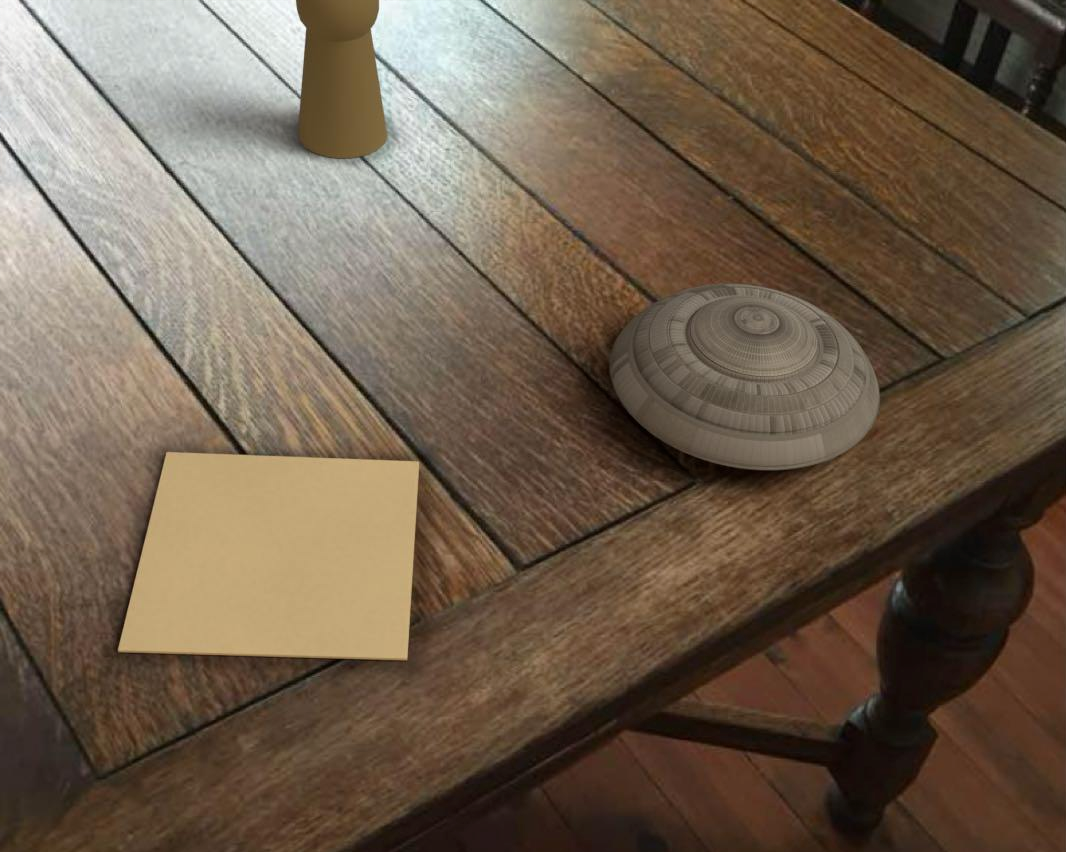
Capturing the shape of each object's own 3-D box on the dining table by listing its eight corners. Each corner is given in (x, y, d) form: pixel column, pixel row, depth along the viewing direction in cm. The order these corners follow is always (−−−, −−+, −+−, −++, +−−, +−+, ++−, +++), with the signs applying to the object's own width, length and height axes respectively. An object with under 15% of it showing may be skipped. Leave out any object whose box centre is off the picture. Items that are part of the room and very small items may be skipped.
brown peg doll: (405, 131, 93) (405, -27, 85) (349, 168, 90) (343, 7, 82) (336, 102, 95) (329, -56, 87) (279, 137, 92) (266, -24, 84)
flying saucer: (602, 305, 81) (612, 228, 77) (850, 320, 82) (873, 243, 78) (611, 482, 71) (623, 402, 67) (894, 496, 72) (923, 419, 68)
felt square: (166, 454, 70) (166, 451, 70) (419, 463, 71) (419, 461, 71) (118, 652, 61) (117, 650, 61) (407, 660, 62) (407, 658, 62)
